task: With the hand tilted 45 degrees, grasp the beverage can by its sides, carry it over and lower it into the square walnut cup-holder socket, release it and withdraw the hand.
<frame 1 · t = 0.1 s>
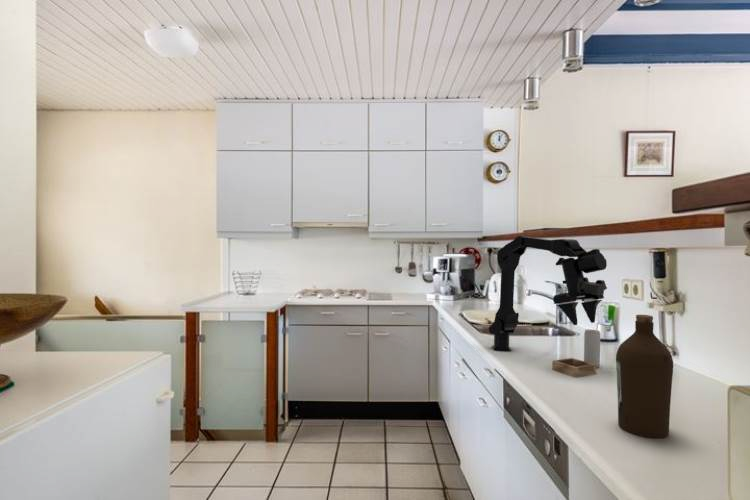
hand: (584, 323, 136), 15 cm above the worktop, tool pointing down, fingers open, 9 cm apart
walnut socket: (573, 371, 136), on the worktop
beverage can: (591, 366, 142), on the worktop
olive oil: (642, 429, 93), on the worktop
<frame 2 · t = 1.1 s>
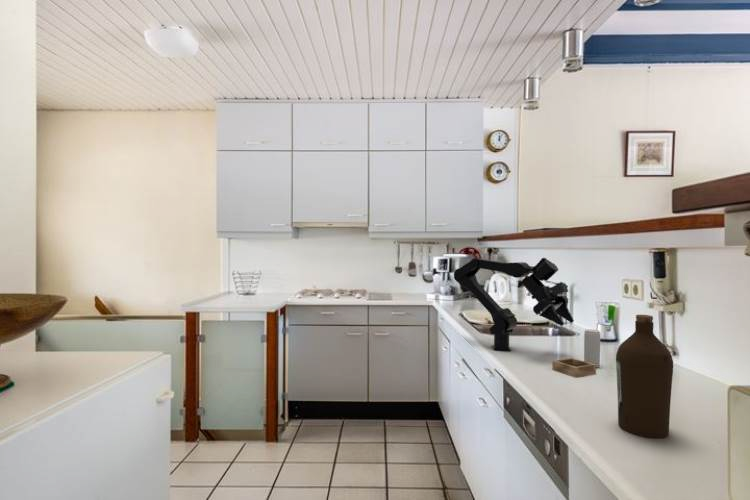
hand: (567, 323, 148), 13 cm above the worktop, tool tilted 45°, fingers open, 9 cm apart
nothing on the worktop moved.
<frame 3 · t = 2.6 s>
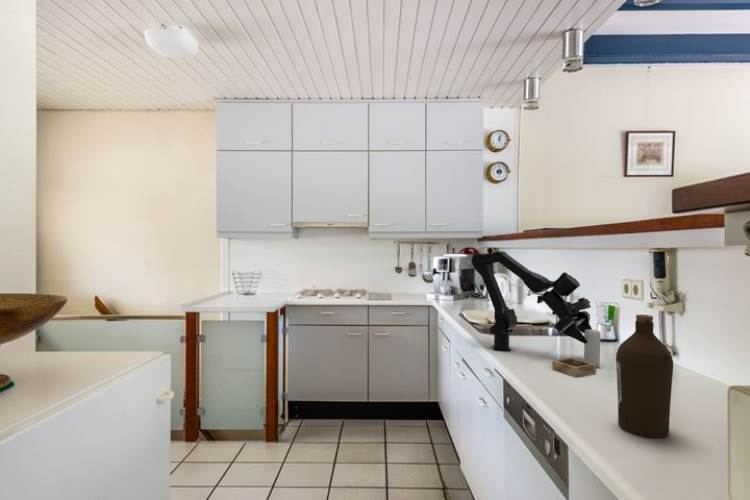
hand: (591, 340, 142), 9 cm above the worktop, tool tilted 45°, fingers open, 9 cm apart
nothing on the worktop moved.
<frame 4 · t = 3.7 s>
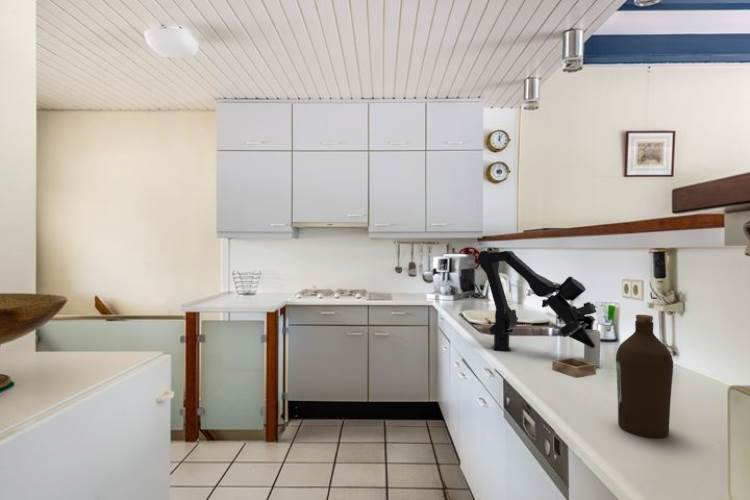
hand: (596, 345, 141), 7 cm above the worktop, tool tilted 45°, fingers closed on beverage can, 5 cm apart
beverage can: (591, 366, 142), on the worktop, touching gripper
everything else where it was.
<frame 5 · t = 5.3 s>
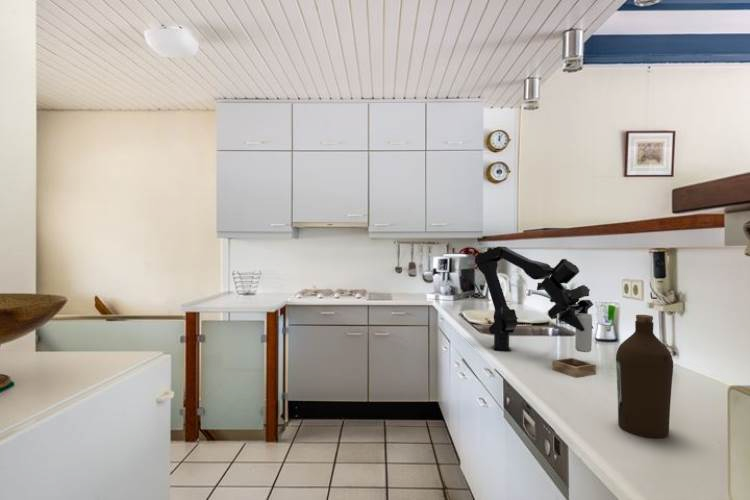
hand: (587, 329, 137), 13 cm above the worktop, tool tilted 45°, fingers closed on beverage can, 5 cm apart
beverage can: (583, 351, 138), point 6 cm above the worktop, touching gripper
everything else where it was.
when the fingers open (8 cm above the worktop, at t = 7.1 s): beverage can stays where it is, resting on walnut socket.
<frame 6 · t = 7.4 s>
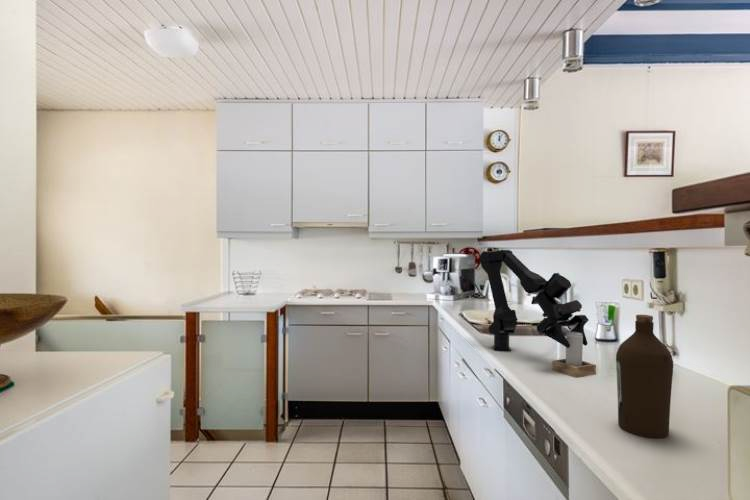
hand: (577, 346, 134), 9 cm above the worktop, tool tilted 45°, fingers open, 8 cm apart
beverage can: (573, 370, 136), resting on walnut socket
everything else where it was.
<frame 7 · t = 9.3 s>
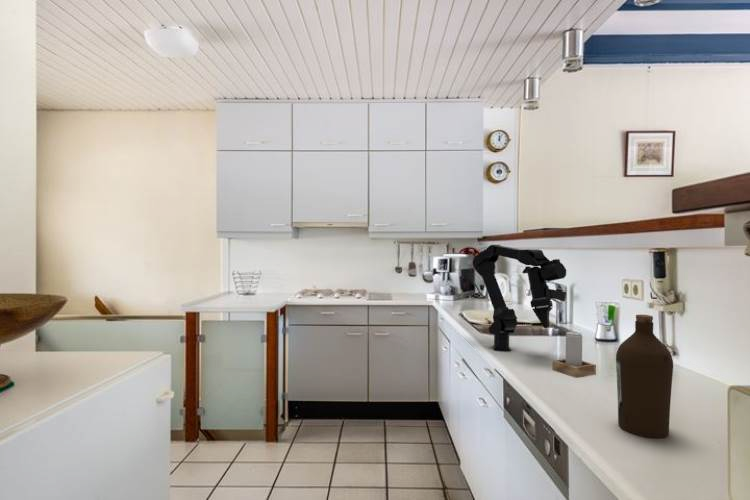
hand: (546, 327, 147), 12 cm above the worktop, tool pointing down, fingers open, 9 cm apart
nothing on the worktop moved.
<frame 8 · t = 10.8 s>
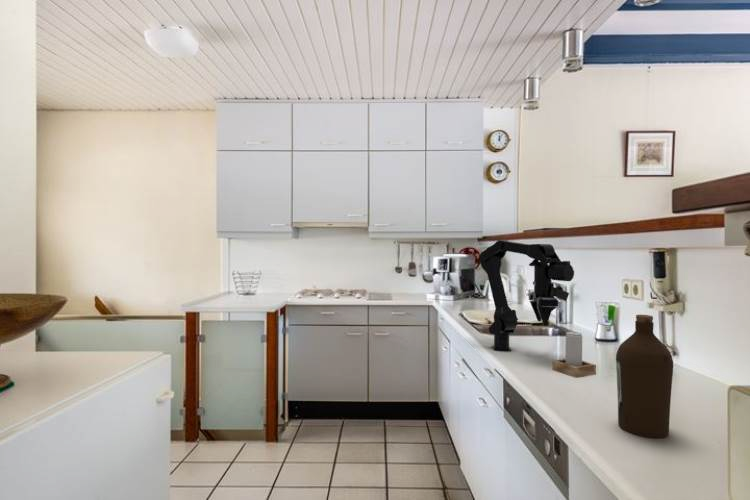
hand: (542, 323, 149), 13 cm above the worktop, tool pointing down, fingers open, 9 cm apart
nothing on the worktop moved.
at the end: beverage can 0.1 cm off-centre on the walnut socket, point 0.2 cm above the walnut socket's base; beverage can tilted 0°; the gripper is holding nothing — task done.
